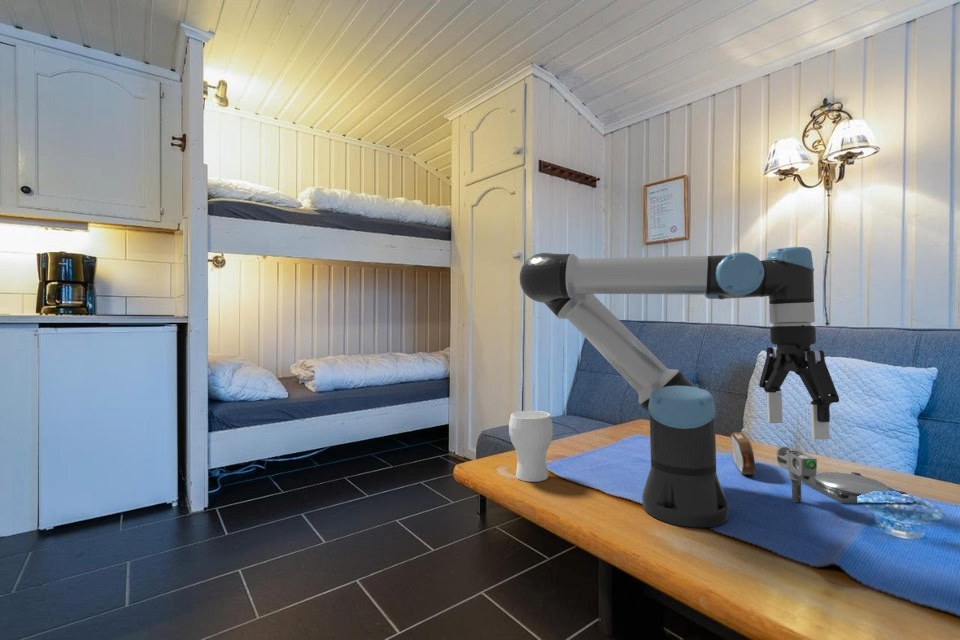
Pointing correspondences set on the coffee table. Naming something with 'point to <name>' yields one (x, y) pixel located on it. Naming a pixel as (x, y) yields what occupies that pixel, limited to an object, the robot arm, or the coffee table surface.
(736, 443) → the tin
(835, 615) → the coffee table surface
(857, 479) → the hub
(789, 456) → the mechanical component
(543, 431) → the cup
